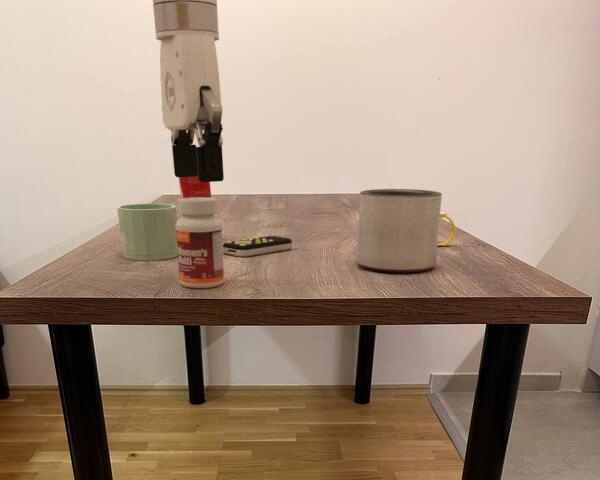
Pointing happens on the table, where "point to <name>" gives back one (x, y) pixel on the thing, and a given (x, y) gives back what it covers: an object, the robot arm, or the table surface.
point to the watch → (452, 229)
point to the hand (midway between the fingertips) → (198, 179)
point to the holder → (148, 231)
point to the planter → (398, 230)
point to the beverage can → (194, 188)
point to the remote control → (257, 246)
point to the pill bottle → (199, 243)
